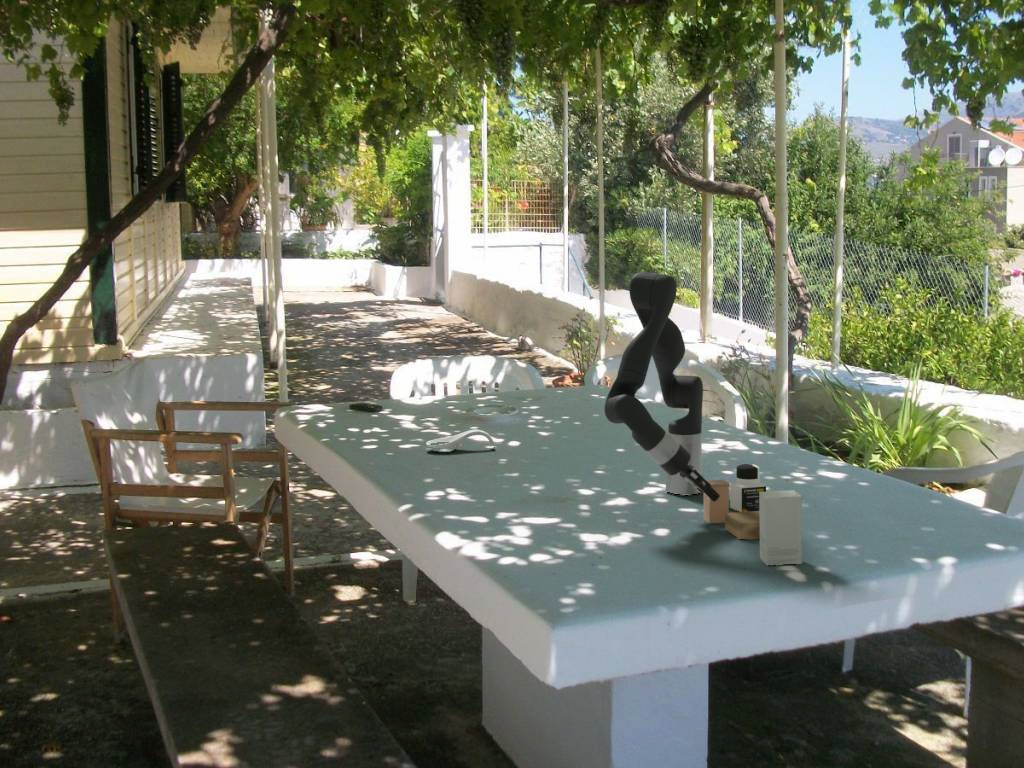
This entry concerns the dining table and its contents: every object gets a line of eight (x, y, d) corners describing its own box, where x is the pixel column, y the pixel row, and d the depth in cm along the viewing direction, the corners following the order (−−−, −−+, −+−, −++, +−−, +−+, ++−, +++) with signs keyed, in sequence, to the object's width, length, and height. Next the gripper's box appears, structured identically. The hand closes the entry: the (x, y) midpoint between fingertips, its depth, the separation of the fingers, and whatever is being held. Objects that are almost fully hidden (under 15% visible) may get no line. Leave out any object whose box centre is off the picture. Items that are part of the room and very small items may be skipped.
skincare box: (794, 557, 268) (795, 489, 266) (803, 565, 261) (803, 495, 259) (757, 558, 267) (758, 490, 265) (765, 566, 261) (765, 496, 259)
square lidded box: (709, 523, 300) (709, 484, 299) (702, 518, 306) (702, 480, 305) (729, 522, 301) (729, 483, 300) (722, 517, 307) (722, 479, 305)
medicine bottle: (741, 513, 310) (741, 468, 309) (729, 507, 317) (729, 463, 316) (766, 511, 312) (766, 466, 311) (754, 505, 319) (754, 461, 318)
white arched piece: (427, 455, 404) (426, 434, 403) (425, 449, 415) (424, 429, 414) (496, 452, 406) (496, 432, 406) (492, 446, 418) (492, 426, 417)
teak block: (740, 539, 284) (740, 523, 283) (724, 528, 295) (725, 513, 294) (784, 537, 285) (784, 520, 285) (767, 526, 296) (767, 510, 296)
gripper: (686, 446, 293) (731, 490, 296) (670, 437, 307) (713, 479, 310) (665, 469, 292) (710, 512, 295) (650, 458, 306) (693, 500, 309)
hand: (711, 495), depth 303 cm, fingers open, 8 cm apart
